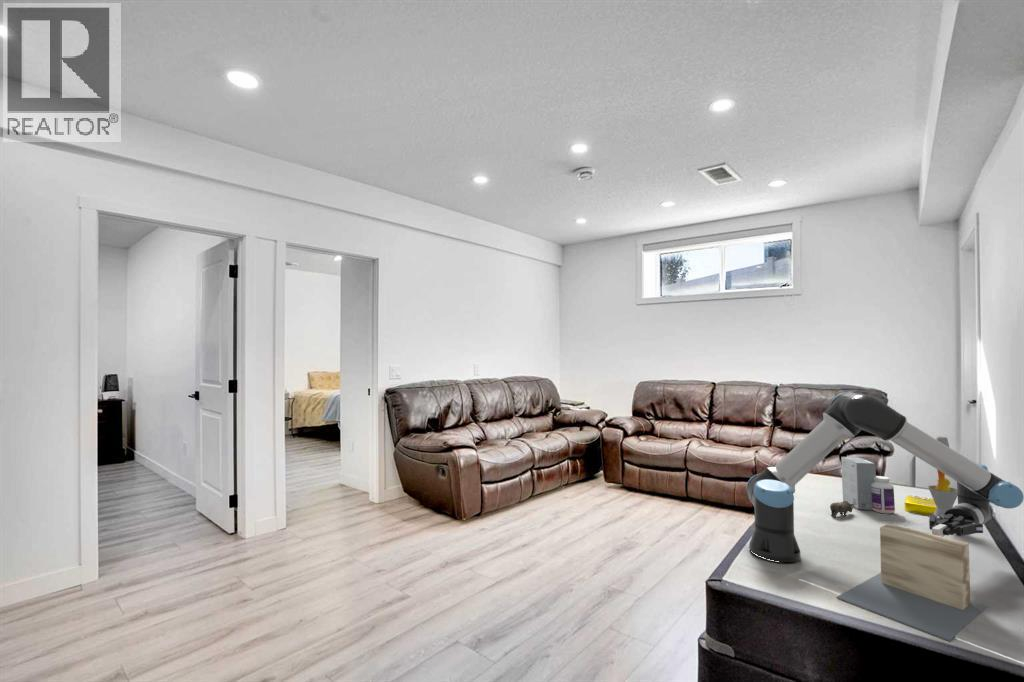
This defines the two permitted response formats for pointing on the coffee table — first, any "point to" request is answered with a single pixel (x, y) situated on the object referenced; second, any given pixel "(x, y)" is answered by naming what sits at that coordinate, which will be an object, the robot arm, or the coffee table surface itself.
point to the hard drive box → (858, 481)
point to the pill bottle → (882, 495)
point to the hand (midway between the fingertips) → (935, 533)
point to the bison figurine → (840, 508)
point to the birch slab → (926, 565)
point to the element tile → (920, 505)
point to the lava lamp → (943, 489)
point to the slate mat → (912, 608)
